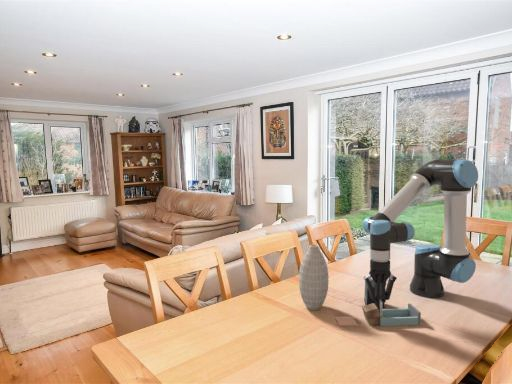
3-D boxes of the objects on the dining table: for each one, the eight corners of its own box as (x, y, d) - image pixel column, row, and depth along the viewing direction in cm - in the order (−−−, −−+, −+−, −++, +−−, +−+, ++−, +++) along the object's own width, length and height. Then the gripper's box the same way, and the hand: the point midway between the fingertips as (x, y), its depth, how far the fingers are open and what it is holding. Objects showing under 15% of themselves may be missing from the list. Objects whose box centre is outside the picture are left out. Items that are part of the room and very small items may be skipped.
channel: (409, 315, 148) (410, 303, 148) (420, 324, 140) (420, 312, 139) (372, 316, 148) (372, 304, 147) (380, 326, 139) (381, 314, 139)
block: (377, 316, 145) (373, 303, 145) (381, 322, 140) (377, 308, 140) (365, 319, 145) (361, 306, 145) (369, 325, 140) (365, 312, 140)
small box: (381, 311, 152) (382, 287, 151) (366, 310, 154) (366, 286, 153) (378, 301, 163) (379, 279, 162) (363, 300, 164) (364, 278, 163)
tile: (351, 317, 147) (351, 316, 146) (357, 326, 140) (357, 324, 140) (335, 318, 146) (335, 316, 146) (340, 326, 139) (340, 325, 139)
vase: (331, 304, 160) (331, 243, 157) (324, 316, 148) (324, 250, 145) (304, 299, 165) (304, 240, 162) (295, 310, 154) (295, 247, 151)
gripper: (391, 256, 144) (390, 311, 146) (361, 257, 144) (361, 313, 146) (399, 261, 137) (399, 319, 139) (368, 262, 136) (368, 321, 138)
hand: (379, 316), depth 142 cm, fingers closed
